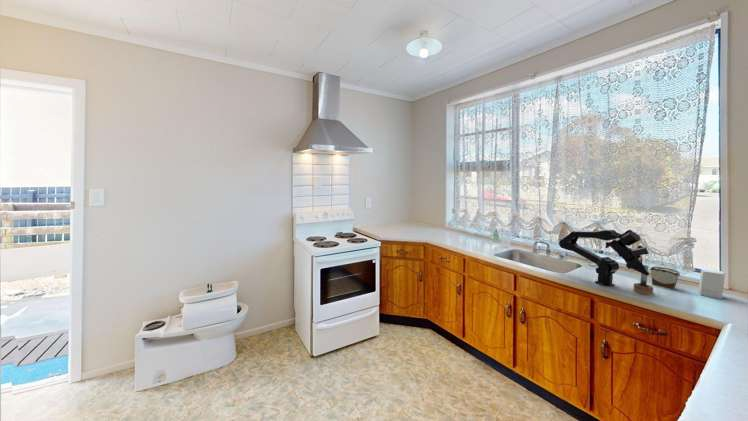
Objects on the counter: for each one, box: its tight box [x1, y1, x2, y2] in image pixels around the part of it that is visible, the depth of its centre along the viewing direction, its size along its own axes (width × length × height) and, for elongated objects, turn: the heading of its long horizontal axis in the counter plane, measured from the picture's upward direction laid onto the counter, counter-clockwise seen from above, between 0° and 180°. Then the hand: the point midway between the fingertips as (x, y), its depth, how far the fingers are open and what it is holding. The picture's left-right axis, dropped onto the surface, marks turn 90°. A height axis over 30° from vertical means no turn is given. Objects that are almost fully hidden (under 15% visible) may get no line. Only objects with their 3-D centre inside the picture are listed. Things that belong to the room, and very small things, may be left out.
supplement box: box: [698, 268, 726, 300], centre depth 148 cm, size 7×7×13 cm
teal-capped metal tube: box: [639, 264, 649, 287], centre depth 151 cm, size 2×2×11 cm
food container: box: [649, 266, 681, 291], centre depth 160 cm, size 12×6×10 cm, turn 22°
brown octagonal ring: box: [633, 282, 654, 295], centre depth 152 cm, size 7×7×4 cm
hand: (648, 274), depth 150 cm, fingers closed on teal-capped metal tube, 2 cm apart
